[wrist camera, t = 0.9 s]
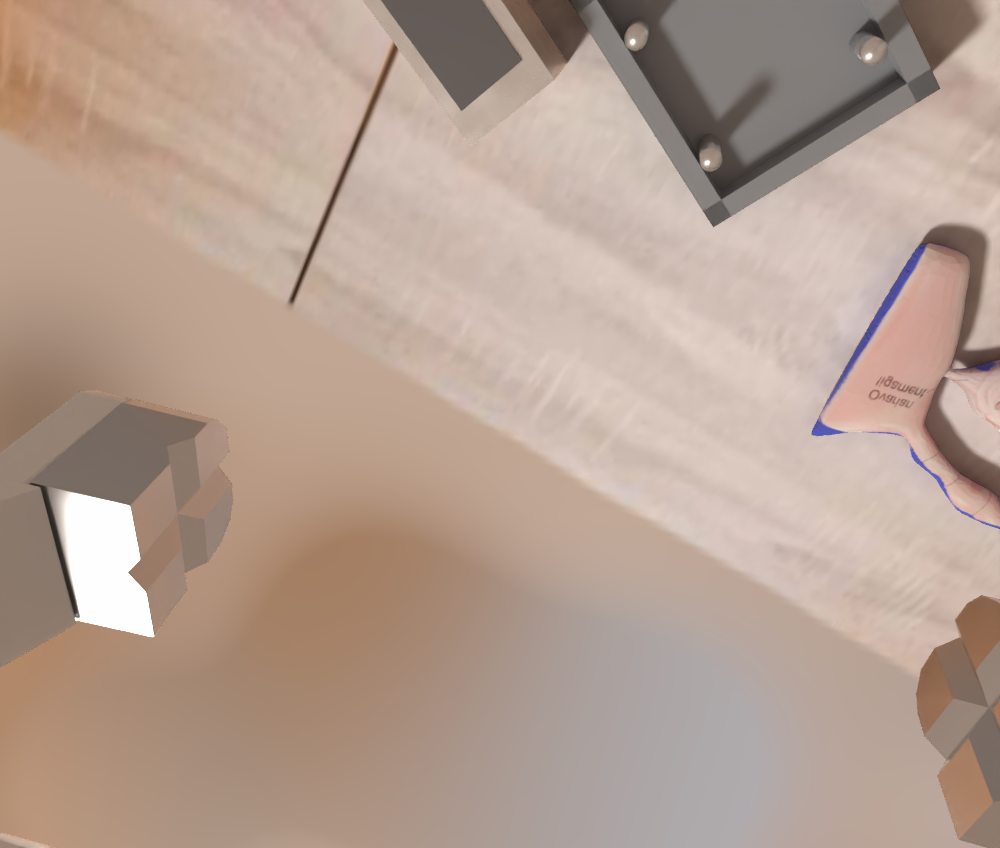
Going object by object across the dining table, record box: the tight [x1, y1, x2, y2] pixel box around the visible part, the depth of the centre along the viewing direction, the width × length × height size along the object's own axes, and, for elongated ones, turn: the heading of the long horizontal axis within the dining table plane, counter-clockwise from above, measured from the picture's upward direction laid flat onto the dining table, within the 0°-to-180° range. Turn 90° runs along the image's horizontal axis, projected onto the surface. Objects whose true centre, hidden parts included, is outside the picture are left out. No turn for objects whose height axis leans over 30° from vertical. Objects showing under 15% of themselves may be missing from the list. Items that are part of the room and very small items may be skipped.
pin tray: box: [569, 0, 940, 227], centre depth 34 cm, size 11×13×4 cm
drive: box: [363, 0, 568, 147], centre depth 35 cm, size 5×10×5 cm, turn 39°
